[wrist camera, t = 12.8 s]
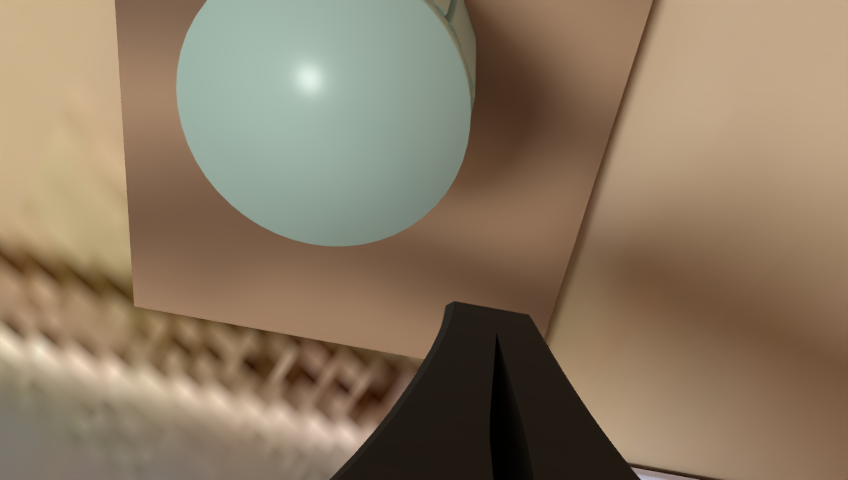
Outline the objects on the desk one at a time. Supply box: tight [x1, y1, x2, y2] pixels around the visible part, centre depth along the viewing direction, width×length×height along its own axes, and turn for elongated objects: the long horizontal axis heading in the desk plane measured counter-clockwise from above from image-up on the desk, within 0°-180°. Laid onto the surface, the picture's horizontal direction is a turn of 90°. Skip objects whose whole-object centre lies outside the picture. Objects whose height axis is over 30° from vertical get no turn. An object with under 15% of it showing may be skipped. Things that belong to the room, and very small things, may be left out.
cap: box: [176, 0, 476, 246], centre depth 15 cm, size 6×6×6 cm
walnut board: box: [115, 0, 653, 359], centre depth 18 cm, size 20×14×1 cm
